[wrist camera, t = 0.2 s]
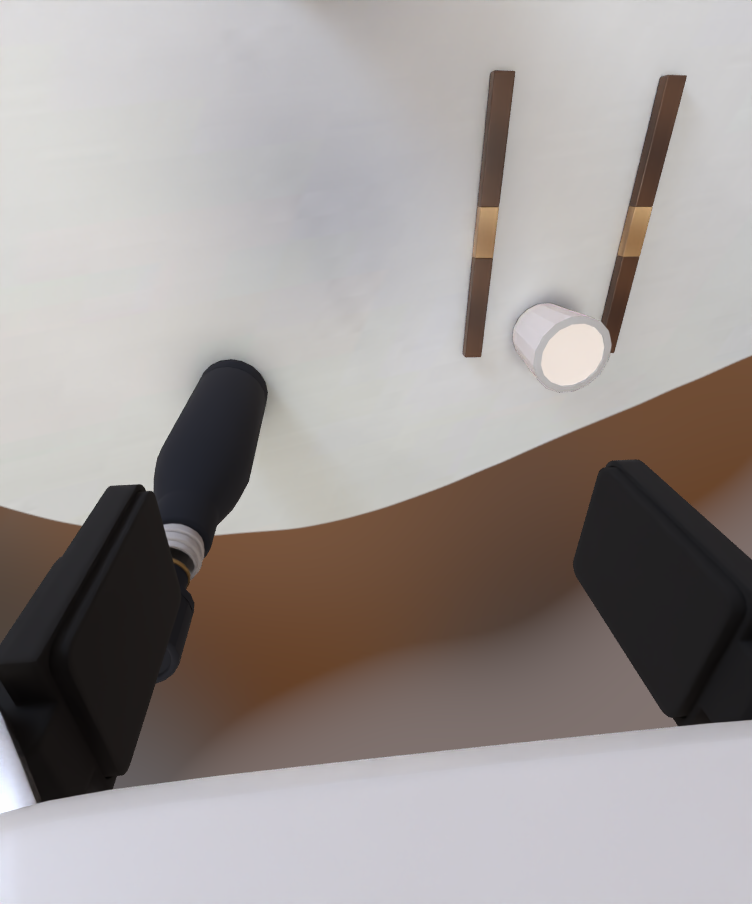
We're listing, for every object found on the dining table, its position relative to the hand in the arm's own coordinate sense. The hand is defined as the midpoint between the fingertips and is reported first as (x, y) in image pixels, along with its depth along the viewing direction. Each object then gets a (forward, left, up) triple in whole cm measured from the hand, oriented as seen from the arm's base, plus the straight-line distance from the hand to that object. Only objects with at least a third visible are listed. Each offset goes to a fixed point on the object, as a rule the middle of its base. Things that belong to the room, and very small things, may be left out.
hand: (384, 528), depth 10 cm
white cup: (+7, +20, -37) cm, 42 cm away
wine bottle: (+12, -10, -37) cm, 40 cm away
